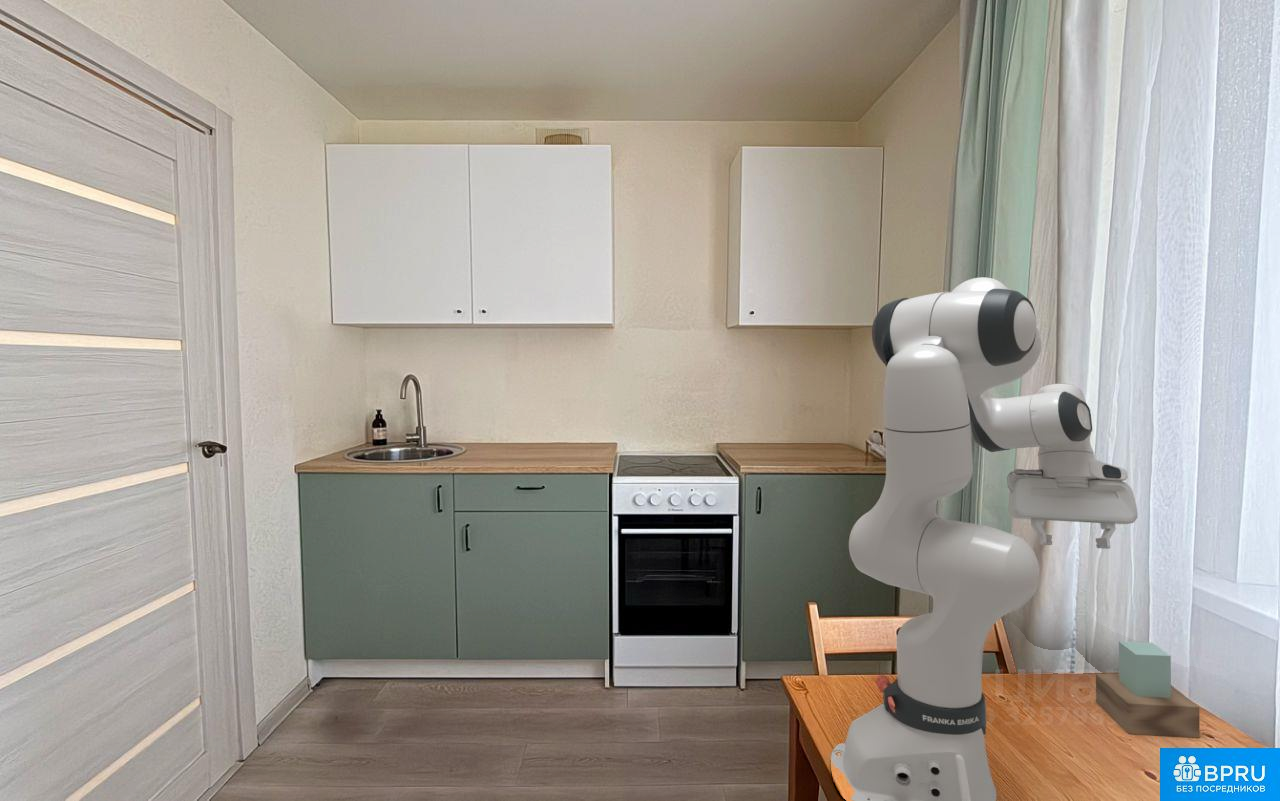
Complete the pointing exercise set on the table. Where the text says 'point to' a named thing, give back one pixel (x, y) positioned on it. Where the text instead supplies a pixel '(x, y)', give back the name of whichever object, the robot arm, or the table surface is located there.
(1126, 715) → the walnut block
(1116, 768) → the table surface
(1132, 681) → the sage block
